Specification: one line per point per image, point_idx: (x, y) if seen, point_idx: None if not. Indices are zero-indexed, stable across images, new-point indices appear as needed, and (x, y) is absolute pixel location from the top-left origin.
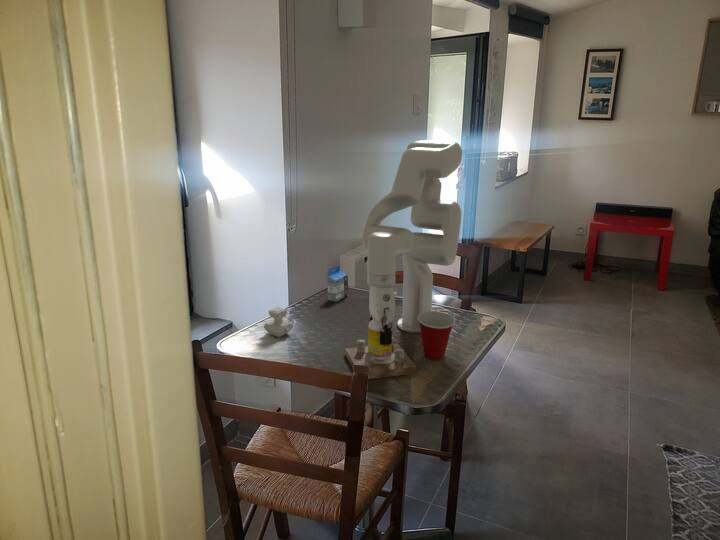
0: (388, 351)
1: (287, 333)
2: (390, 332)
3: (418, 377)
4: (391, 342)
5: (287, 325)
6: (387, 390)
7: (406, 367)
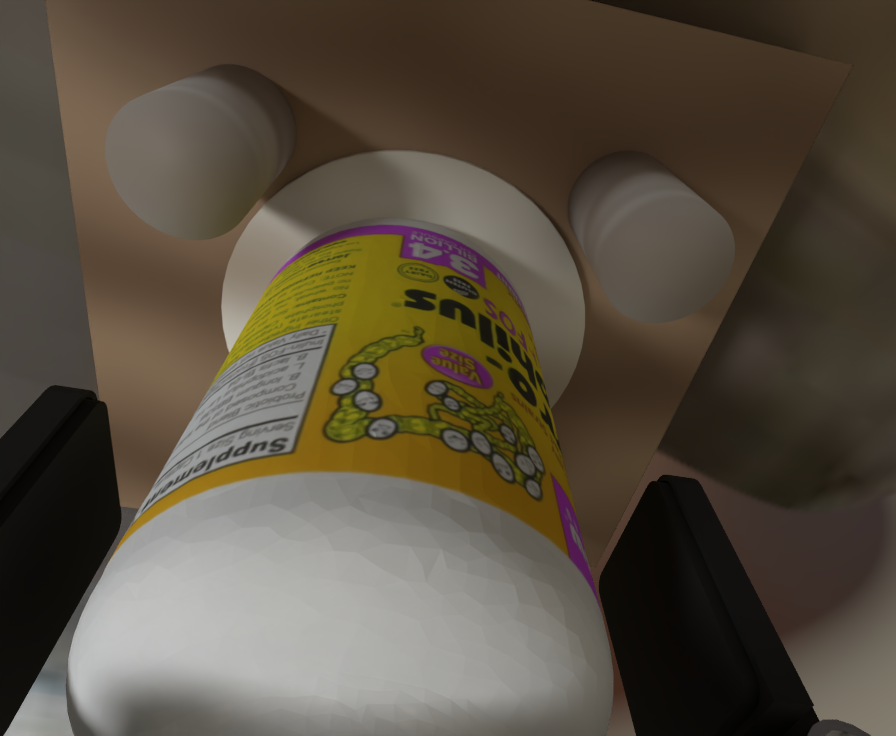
0: (536, 351)
1: None
2: (774, 673)
3: (884, 87)
4: (703, 490)
5: None
6: (833, 437)
7: (776, 196)
